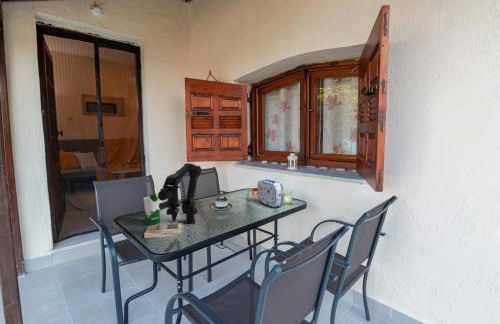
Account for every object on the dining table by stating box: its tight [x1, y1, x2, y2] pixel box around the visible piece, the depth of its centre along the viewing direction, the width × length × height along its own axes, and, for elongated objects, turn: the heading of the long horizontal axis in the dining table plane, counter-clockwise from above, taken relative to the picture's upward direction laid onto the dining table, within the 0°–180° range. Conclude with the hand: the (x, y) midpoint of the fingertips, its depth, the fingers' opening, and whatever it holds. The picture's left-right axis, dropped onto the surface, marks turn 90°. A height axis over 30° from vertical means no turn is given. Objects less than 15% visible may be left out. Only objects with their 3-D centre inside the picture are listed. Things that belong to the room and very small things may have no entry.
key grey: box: [159, 221, 169, 230], centre depth 152 cm, size 4×4×3 cm
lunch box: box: [257, 179, 284, 208], centre depth 210 cm, size 28×10×22 cm, turn 33°
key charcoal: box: [169, 221, 179, 229], centre depth 153 cm, size 4×4×3 cm
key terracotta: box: [150, 224, 159, 231], centre depth 151 cm, size 4×4×3 cm
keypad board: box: [143, 222, 183, 239], centre depth 152 cm, size 14×20×3 cm
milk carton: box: [143, 193, 161, 226], centre depth 167 cm, size 9×9×20 cm
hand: (174, 221), depth 153 cm, fingers closed
